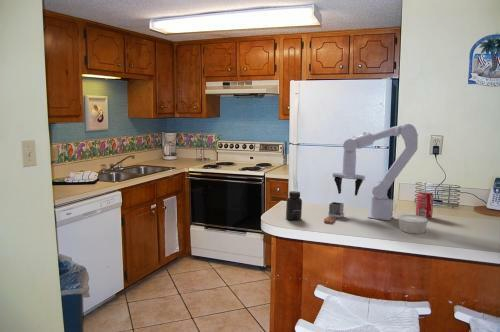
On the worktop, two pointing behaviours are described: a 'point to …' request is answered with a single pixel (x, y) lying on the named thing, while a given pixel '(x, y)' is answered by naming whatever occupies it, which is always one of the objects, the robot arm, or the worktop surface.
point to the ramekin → (412, 224)
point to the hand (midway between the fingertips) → (347, 194)
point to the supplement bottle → (294, 206)
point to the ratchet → (332, 218)
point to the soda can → (424, 204)
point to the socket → (336, 208)
